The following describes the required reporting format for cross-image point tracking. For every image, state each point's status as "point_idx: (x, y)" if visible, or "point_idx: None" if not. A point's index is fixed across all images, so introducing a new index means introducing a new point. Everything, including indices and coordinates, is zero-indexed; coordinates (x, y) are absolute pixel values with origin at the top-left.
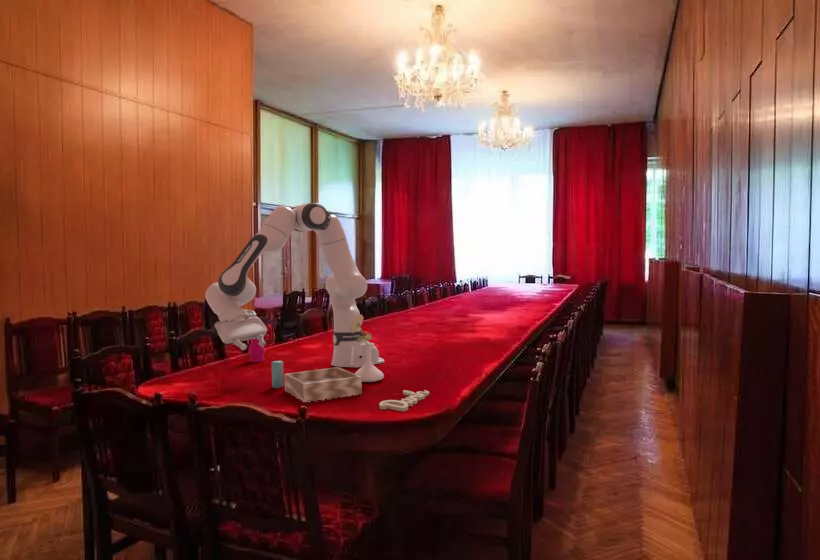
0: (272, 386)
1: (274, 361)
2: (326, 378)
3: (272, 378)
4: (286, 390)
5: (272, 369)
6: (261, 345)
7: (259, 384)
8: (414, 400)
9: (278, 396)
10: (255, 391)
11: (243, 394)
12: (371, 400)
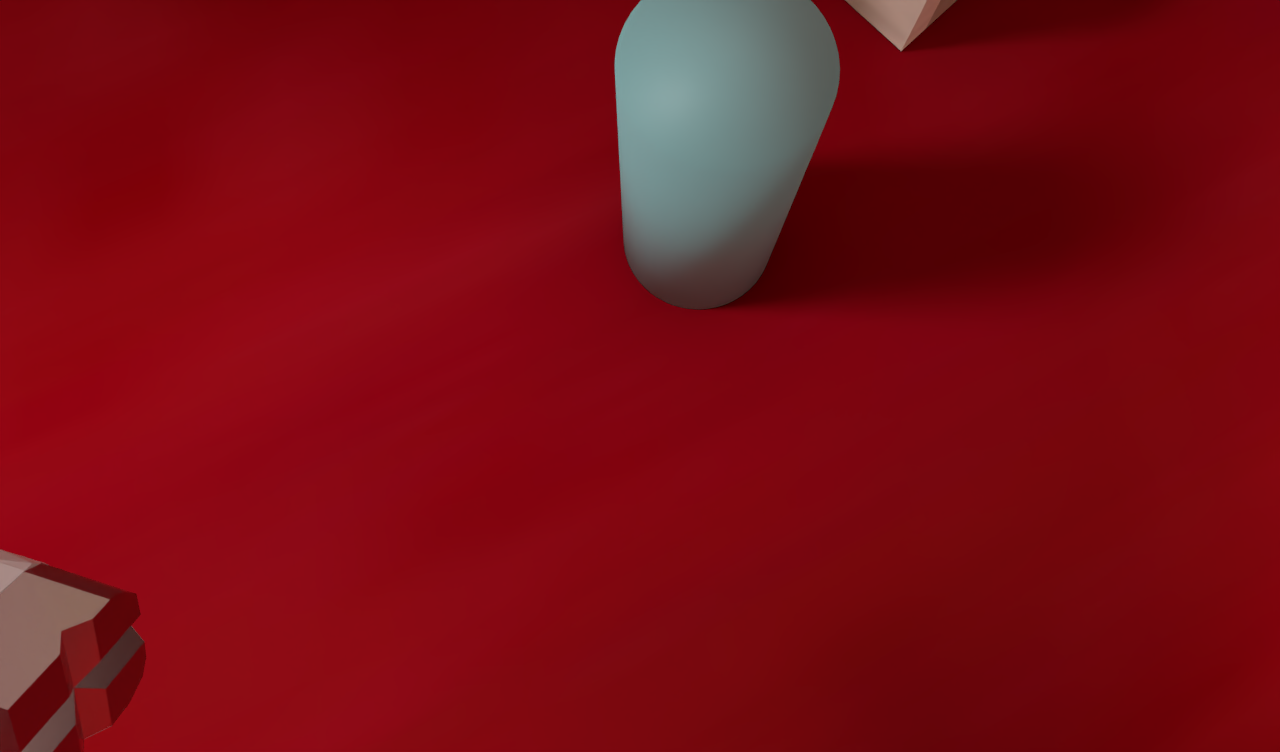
0: (746, 289)
1: (684, 141)
2: None
3: (772, 241)
4: (945, 6)
5: (799, 178)
6: (139, 652)
7: (593, 569)
8: None
9: (1162, 14)
10: (995, 413)
11: (1183, 490)
12: None
